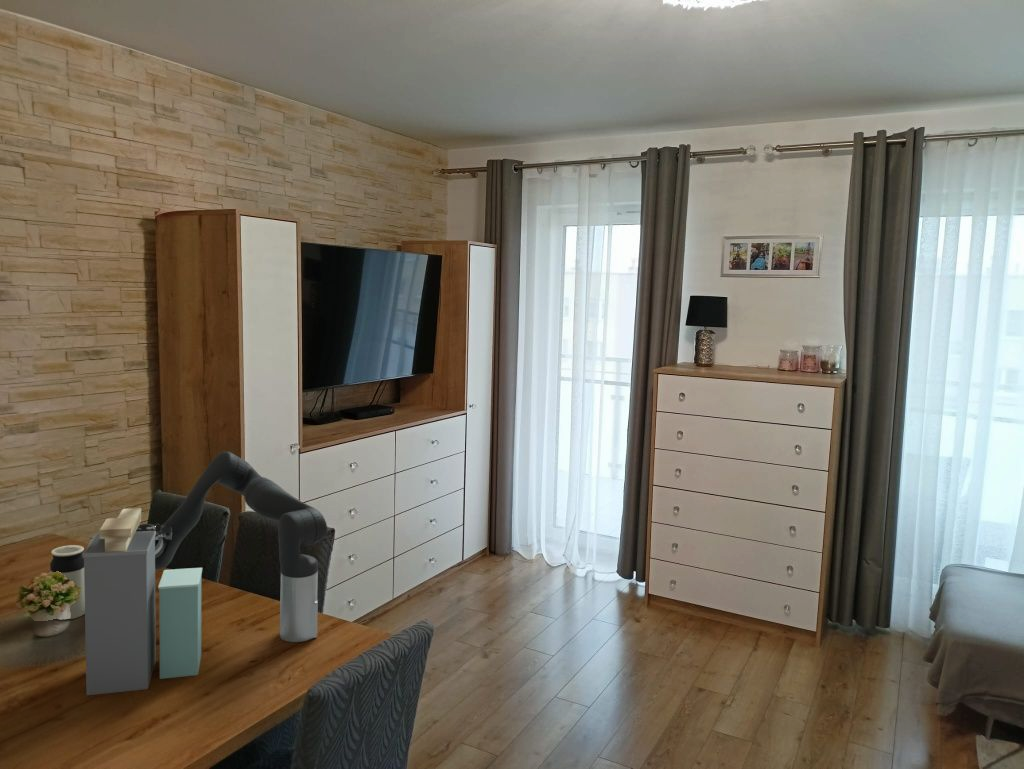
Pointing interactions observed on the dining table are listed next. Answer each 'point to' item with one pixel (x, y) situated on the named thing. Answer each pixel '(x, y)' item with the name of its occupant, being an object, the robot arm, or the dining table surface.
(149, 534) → the stand
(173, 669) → the tall pale green pillar
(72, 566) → the travel mug
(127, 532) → the beige stepped bar
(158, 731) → the dining table surface
